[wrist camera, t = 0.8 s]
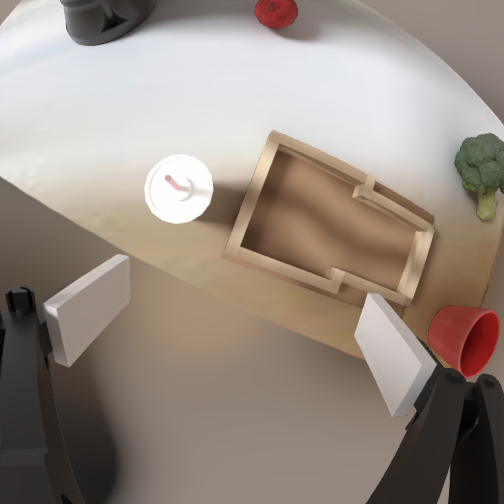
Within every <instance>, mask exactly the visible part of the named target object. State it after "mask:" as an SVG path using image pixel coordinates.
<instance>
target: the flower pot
mask: <svg viewBox="0 0 504 504" xmlns="http://www.w3.org/2000/svg"><path fill="white" fill-rule="evenodd" d="M499 334H500V320H499V318H498V315H497V313H496V312H495V311H493V310H490V309H482V308H472V307H459V306H447V307H444V308H443V309H441V310H440V311H439V312H438V313H437V314H436V316H435V317H434V319H433V321H432V323H431V325H430V328H429V334H428V339H429V343H430V345H431V347H432V348H433V349H434V350H435V351H436V352H437V353H438V354H439V355H440V356H441V357H442V358H443V359H444V360H445V361H446V362H447V363H448V364H449V365H450V366H451V367H452V368H453V369H455V370H457V371H459V372H460V373H461V374H462V375H463V376H464V377H465V378H472V377H474V376H476V375H477V374H478V373H480V372H481V371H482V370H483V368H484V367H485V366H486V365H487V363H488V362H489V360H490V359H491V357H492V355H493V353H494V351H495V348H496V345H497V342H498V339H499Z"/></svg>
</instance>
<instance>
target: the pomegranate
mask: <svg viewBox="0 0 504 504" xmlns="http://www.w3.org/2000/svg"><path fill="white" fill-rule="evenodd" d="M255 15H256V17H257V19H258V20H259V22H260V23H262V24H263V25H264V26H267V27H270V28H283V27H286V26H289V25H290V24H292V23H293V22H294V20H295V19H296V17H297V15H298V8H297V5H296V3H295V1H294V0H259V1H258V2H257V4H256V6H255Z"/></svg>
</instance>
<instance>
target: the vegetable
mask: <svg viewBox="0 0 504 504" xmlns="http://www.w3.org/2000/svg"><path fill="white" fill-rule="evenodd" d="M454 164H455V166H456V168H457V170H458V172H459V173H461V174H462V176H461V177H462V179H463V180H462V186H463V188H464V189H468V190H470V191H472V192H476V191H478V204H477V215H478V216H479V217H480V218H481V219H484V220H488V219H492V218H494V216H495V208H496V206H497V202H495V192H496V191H497V189H498V188H499V187H500V191H501V192H502V193H503V194H504V142H503V141H502V140H500V139H499V138H498V137H497V136H496V135H494V134H492V133H488V134H484V135H483V134H481V135H478V136H477V137H470V138H466V139H465V140H464V141H463V143H462V146H461V148H460V151H459V152H458V153H457V155H456V158H455V163H454Z"/></svg>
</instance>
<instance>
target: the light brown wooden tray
mask: <svg viewBox="0 0 504 504" xmlns="http://www.w3.org/2000/svg"><path fill="white" fill-rule="evenodd" d="M375 180H376V179H375V178H373V177H371V176H369V175H368V174H366V173H364V172H362V171H360V170H358V169H356V168H354V167H352V166H351V165H349V164H347V163H345V162H343V161H341V160H339V159H337V158H335V157H333V156H331V155H328V154H326V153H324V152H322V151H320V150H318V149H316V148H314V147H311V146H309V145H307V144H305V143H303V142H300V141H298V140H296V139H293V138H291V137H289V136H286V135H284V134H282V133H279V132H277V131H274V130H273V131H272V132H271V133H270V135H269V137H268V139H267V142H266V144H265V147H264V149H263V152H262V154H261V157H260V159H259V162H258V164H257V167H256V169H255V172H254V174H253V177H252V180H251V182H250V185H249V187H248V190H247V192H246V195H245V197H244V200H243V203H242V205H241V208H240V210H239V213H238V216H237V218H236V221H235V224H234V226H233V229H232V231H231V234H230V237H229V239H228V242H227V245H226V247H225V250H224V253H223V256H222V258H223V259H226V260H228V261H231V262H234V263H236V264H239V265H242V266H245V267H247V268H250V269H253V270H256V271H258V272H261V273H264V274H267V275H270V276H272V277H275V278H278V279H281V280H283V281H286V282H289V283H292V284H295V285H298V286H300V287H303V288H306V289H309V290H312V291H314V292H317V293H320V294H323V295H326V296H329V297H332V298H334V299H337V300H340V301H343V302H346V303H349V304H352V305H355V306H358V307H361V308H363V307H364V304H365V301H366V297H367V294H368V293H375V294H380V295H381V296H382V297H383V298H384V300H385V301H386V302H387V303H388V304H389V305H390V307H391V308H392V309H393V310H394V311H395V312H396V314H397V315H398V316H399V317H400V316H401V314H402V312H403V309H404V306H407V307H410V304H411V302H412V299H413V296H414V294H415V291H416V288H417V285H418V283H419V280H420V277H421V274H422V271H423V268H424V264H425V261H426V258H427V255H428V251H429V248H430V244H431V241H432V237H433V234H434V230H435V227H434V226H433V225H431V223H432V219H433V215H431V214H430V213H428V212H426V211H425V210H423V209H422V208H420V207H419V206H417V205H415V204H414V203H412V202H411V201H409V200H407V199H406V198H404V197H402V196H401V195H399V194H397V193H396V192H394V191H392V190H390V189H389V188H387V187H385V186H383V185H382V184H380V183H378V182H376V181H375Z"/></svg>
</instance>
